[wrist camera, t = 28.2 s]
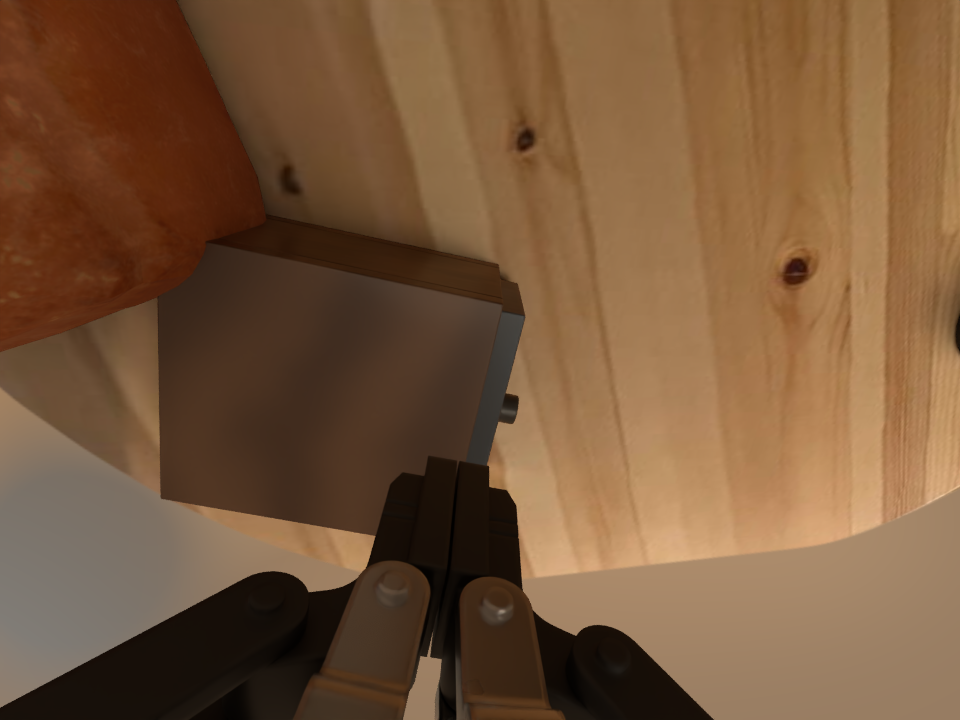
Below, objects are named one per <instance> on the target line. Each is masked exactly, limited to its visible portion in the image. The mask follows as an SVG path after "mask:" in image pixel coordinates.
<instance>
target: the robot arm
mask: <svg viewBox="0 0 960 720" xmlns="http://www.w3.org/2000/svg"><path fill="white" fill-rule="evenodd" d="M456 471H457V473H456ZM432 633H433V637H432ZM431 637H432V646H431V655H430V657H432V658H438V659H442V663H441V674H440V680H439V684H438V688H437V692H436V698H435V720H714V719H713V718H711V716H709V714H707V713H706V712H705V711H704V710H703V709H702V708H701V707H700V706H699V705H698V704H697V703H696V702H695V701H694V700H693V699H692V698H691V697H690V696H689V695H688V694H687V693H686V692H685V691H684V690H683V689H682V688H681V687H680V686H679V685H678V684H677V683H676V682H675V681H674V680H673V679H672V678H671V677H670V676H669V675H668V674H667V673H666V672H665V671H664V670H663V669H662V668H661V667H660V666H659V665H658V664H657V663H656V662H655V661H654V660H653V659H652V658H651V657H650V656H649V655H648V654H647V653H646V652H645V651H644V650H643V649H642V648H641V647H640V646H639V645H638V644H637V643H636V642H635V641H634V640H632V639H631V638H630V637H629V636H627V635H626V634H624V633H623V632H621V631H619V630H617V629H614V628H612V627H608V626H602V625H593V626H588V627H586V628H584V629H582V630H581V631H580V632H579V633H578V634H577V636H575V635H572V634H570V633H568V632H566V631H563V630H562V629H559V628H557V627H555V626H553V625H551V624H549V623H548V622H546V621H544V620H543V619H542V618H541V617H539V616H538V615H537V614H536V613H535V612H534V611H533V610H532V606H531V603H530V601H529V599H528V597H527V596H526V595H525V593H524V592H523V589H522V577H521V563H520V549H519V538H518V525H517V508H516V504H515V503H514V501H513V500H512V498H511V496H510V495H509V493H508V491H507V490H502V489H496V488H491V487H489V466H486V465H481V464H475V463H469V462H464V461H459V464H458V468H457V460H452V459H446V458H441V457H435V456H429V455H428V459H427V465H426V470H425V475H424V476H422V475H416V474H410V473H405V472H402V473H401V474H400V475H399V476H398V477H397V478H396V479H395V480H394V481H393V482H392V483H391V484H390V487H389V490H388V494H387V497H386V502H385V504H384V508H383V512H382V515H381V519H380V522H379V526H378V530H377V533H376V537H375V540H374V544H373V547H372V551H371V555H370V558H369V562H368V564H367V567H366V569H365V570H364V571H363V572H362V573H361V574H360V575H359V577H358V578H357V579H356V580H354V581H353V582H351V583H349V584H347V585H345V586H343V587H340V588H336V589H332V590H325V591H316V592H308V590H307V588H306V586H305V585H304V584H303V582H302V581H300V580H299V579H298V578H296V577H294V576H293V575H290V574H287V573H283V572H275V571H271V572H262V573H257V574H254V575H251V576H249V577H247V578H245V579H243V580H241V581H239V582H237V583H235V584H233V585H231V586H229V587H228V588H226V589H224V590H222V591H220V592H218V593H216V594H214V595H212V596H211V597H209V598H207V599H205V600H203V601H201V602H199V603H197V604H196V605H193V606H192V607H190V608H188V609H186V610H184V611H182V612H180V613H178V614H176V615H175V616H173V617H171V618H169V619H167V620H165V621H163V622H161V623H159V624H158V625H156V626H154V627H152V628H150V629H148V630H146V631H144V632H142V633H141V634H139V635H137V636H135V637H133V638H131V639H129V640H128V641H125V642H124V643H122V644H120V645H118V646H116V647H114V648H112V649H110V650H109V651H107V652H105V653H103V654H101V655H99V656H97V657H95V658H93V659H91V660H90V661H88V662H86V663H84V664H82V665H80V666H78V667H76V668H74V669H73V670H71V671H69V672H67V673H65V674H63V675H61V676H59V677H57V678H56V679H54V680H52V681H50V682H48V683H46V684H44V685H42V686H40V687H39V688H37V689H35V690H33V691H31V692H29V693H27V694H25V695H23V696H22V697H20V698H18V699H16V700H14V701H12V702H10V703H8V704H6V705H4V706H3V707H1V708H0V720H403V717H404V712H405V708H406V703H407V699H408V694H409V691H410V689H411V688H412V686H413V684H414V682H415V678H416V674H417V669H418V665H419V660H420V656H424V657H427V654H428V650H429V646H430V641H431Z"/></svg>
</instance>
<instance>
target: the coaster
mask: <svg viewBox="0 0 960 720" xmlns="http://www.w3.org/2000/svg"><path fill="white" fill-rule="evenodd" d="M956 339H957V345H958V348H959V350H960V317H959V320H958V324H957V330H956Z"/></svg>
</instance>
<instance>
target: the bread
mask: <svg viewBox="0 0 960 720" xmlns="http://www.w3.org/2000/svg"><path fill="white" fill-rule="evenodd" d="M266 220H267V219H266V215H265V210H264V205H263V201H262V196H261V191H260V187H259V182H258V177H257V175H256V173H255V171H254V169H253V166H252V164H251V162H250V160H249V158H248V156H247V153H246V151H245V149H244V147H243V145H242V143H241V141H240V138H239V136H238V134H237V132H236V130H235V128H234V125H233V123H232V121H231V119H230V117H229V114H228V112H227V110H226V108H225V105H224V103H223V101H222V99H221V97H220V94H219V92H218V90H217V88H216V85H215V83H214V81H213V79H212V77H211V74H210V72H209V70H208V68H207V65H206V63H205V61H204V59H203V56H202V54H201V52H200V50H199V48H198V46H197V44H196V42H195V39H194V37H193V35H192V33H191V31H190V29H189V27H188V25H187V23H186V20H185V18H184V16H183V14H182V12H181V10H180V8H179V6H178V4H177V1H176V0H0V352H1V351H5V350H8V349H11V348H14V347H17V346H20V345H24V344H27V343H30V342H33V341H36V340H40V339H43V338H46V337H49V336H52V335H56V334H59V333H62V332H65V331H67V330H70V329H72V328H75V327H78V326H80V325H83V324H85V323H88V322H91V321H93V320H96V319H99V318H101V317H104V316H106V315H109V314H112V313H114V312H117V311H120V310H122V309H125V308H129V307H132V306H136V305H138V304H141V303H144V302H146V301H149V300H151V299H154V298H156V297H158V296H159V295H161V294H163V293H165V292H167V291H169V290H171V289H173V288H175V287H177V286H179V285H180V284H181V283H182V282H184V281H185V280H186V279H187V278H188V277H189V276H191V275H192V273H193V272H194V270H195V268H196V266H197V265H198V263H199V261H200V260H201V258H202V256H203V254H204V251H205V248H206V243H205V242H206V241H209V240H213V239H219V238H221V237H224V236H227V235H230V234H234V233H237V232H240V231H243V230H247V229H250V228H253V227H256V226H259V225H262V224H263V223H264V222H265V221H266Z"/></svg>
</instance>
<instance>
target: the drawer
mask: <svg viewBox="0 0 960 720" xmlns="http://www.w3.org/2000/svg"><path fill="white" fill-rule="evenodd" d="M501 288H502V297H503V305H504V306H503V310H502V314H501V318H500V322H499V326H498V330H497V335H496V339H495V343H494V347H493V351H492V355H491V359H490V364H489V368H488V372H487V376H486V380H485V384H484V388H483V392H482V397H481V401H480V405H479V409H478V413H477V417H476V421H475V426H474V430H473V434H472V438H471V442H470V446H469V450H468V454H467V459H466V462H469V463H475V464H481V465H486V466H487V462H488V459H489V455H490V451H491V447H492V443H493V439H494V435H495V432H496V428H497V424H498V422H503V423H509V424H513V423H514V421H515V419H516V415H517V410H518V403H519V398H518V396H517V395H512V394H506V389H507V386H508V382H509V378H510V374H511V370H512V366H513V363H514V359H515V355H516V351H517V347H518V343H519V339H520V336H521V332H522V328H523V324H524V320H525V313H524V309H523V304H522V300H521V296H520V291H519V287H518V284H517V283H514V282H509V281H504V280H501Z"/></svg>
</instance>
